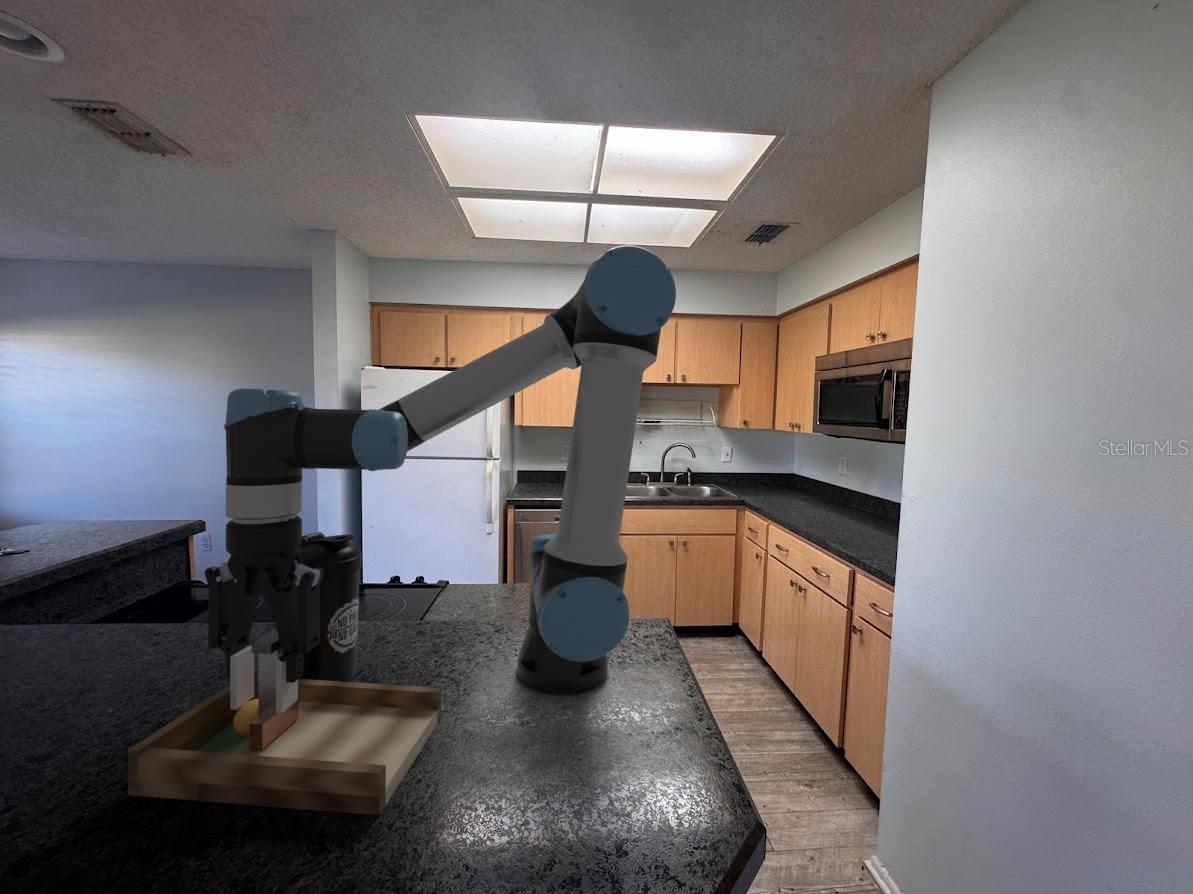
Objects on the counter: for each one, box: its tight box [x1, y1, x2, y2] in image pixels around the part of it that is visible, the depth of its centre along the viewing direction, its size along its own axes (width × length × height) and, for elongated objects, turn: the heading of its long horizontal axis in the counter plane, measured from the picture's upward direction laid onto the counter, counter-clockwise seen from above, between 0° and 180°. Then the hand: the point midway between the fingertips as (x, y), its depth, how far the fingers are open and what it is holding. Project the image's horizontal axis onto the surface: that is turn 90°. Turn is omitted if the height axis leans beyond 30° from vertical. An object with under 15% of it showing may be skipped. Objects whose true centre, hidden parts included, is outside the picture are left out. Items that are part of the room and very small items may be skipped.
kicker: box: [250, 629, 299, 750], centre depth 57 cm, size 2×6×12 cm, turn 176°
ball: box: [233, 699, 261, 736], centre depth 57 cm, size 4×4×4 cm
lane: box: [127, 672, 442, 816], centre depth 57 cm, size 28×16×5 cm, turn 86°
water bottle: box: [293, 531, 363, 682], centre depth 73 cm, size 10×10×23 cm
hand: (264, 704), depth 57 cm, fingers open, 5 cm apart
